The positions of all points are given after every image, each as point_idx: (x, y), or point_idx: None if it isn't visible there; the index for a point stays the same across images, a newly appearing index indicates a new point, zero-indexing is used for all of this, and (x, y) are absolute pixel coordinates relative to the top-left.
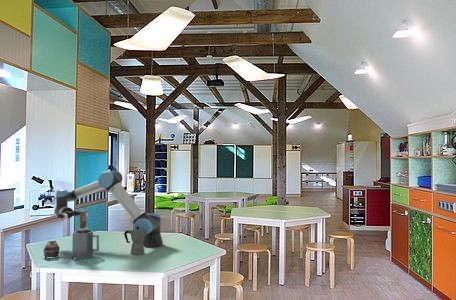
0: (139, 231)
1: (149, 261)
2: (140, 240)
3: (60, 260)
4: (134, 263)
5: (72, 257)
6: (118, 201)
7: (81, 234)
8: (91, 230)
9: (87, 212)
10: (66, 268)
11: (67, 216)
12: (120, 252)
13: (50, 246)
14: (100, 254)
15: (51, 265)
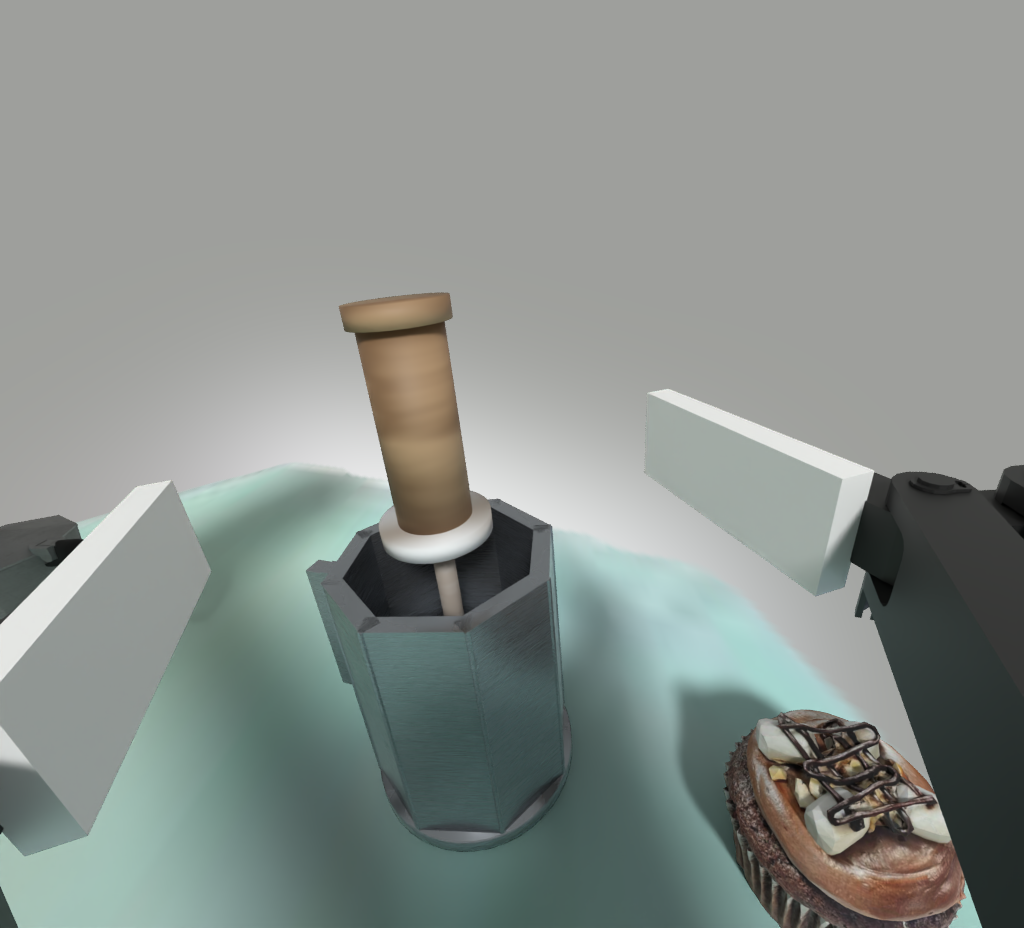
0: (32, 520)
1: (216, 543)
2: None
3: (652, 680)
4: (287, 534)
5: (564, 710)
6: None
7: None
8: (331, 588)
9: (137, 494)
10: (579, 534)
11: (647, 431)
12: (131, 785)
13: (813, 712)
14: (315, 772)
15: (676, 588)
